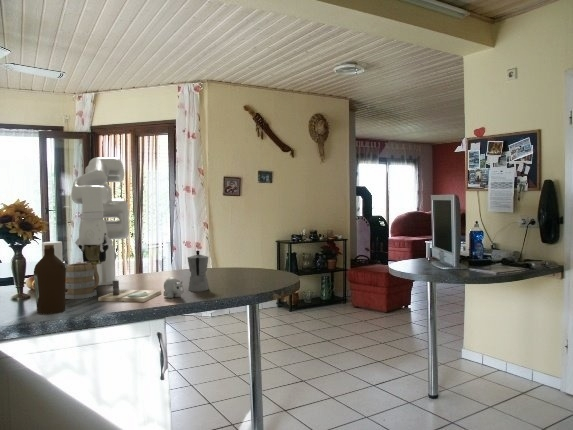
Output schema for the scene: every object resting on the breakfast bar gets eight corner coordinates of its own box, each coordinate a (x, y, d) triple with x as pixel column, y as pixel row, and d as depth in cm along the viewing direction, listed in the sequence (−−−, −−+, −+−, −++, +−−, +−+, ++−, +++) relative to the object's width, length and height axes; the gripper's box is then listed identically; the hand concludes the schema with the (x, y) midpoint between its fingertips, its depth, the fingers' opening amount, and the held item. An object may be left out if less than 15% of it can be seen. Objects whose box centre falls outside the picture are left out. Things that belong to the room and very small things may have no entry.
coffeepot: (188, 287, 209) (187, 249, 209) (209, 286, 211) (208, 248, 210) (187, 294, 194) (186, 253, 194) (209, 292, 196) (208, 252, 195)
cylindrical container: (48, 302, 182) (46, 241, 181) (66, 302, 183) (64, 241, 182) (40, 306, 175) (38, 243, 174) (59, 306, 176) (57, 242, 175)
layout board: (98, 301, 183) (97, 282, 183) (119, 293, 199) (118, 276, 199) (143, 301, 180) (143, 283, 180) (161, 293, 196) (160, 276, 196)
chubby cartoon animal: (173, 301, 179) (173, 280, 179) (161, 297, 189) (160, 277, 188) (189, 299, 184) (189, 278, 184) (176, 294, 193) (176, 275, 193)
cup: (108, 262, 181) (107, 243, 181) (98, 265, 174) (98, 245, 173) (90, 262, 182) (90, 243, 182) (80, 265, 174) (80, 245, 174)
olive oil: (67, 306, 174) (65, 243, 173) (66, 312, 164) (64, 245, 163) (36, 310, 169) (34, 244, 169) (33, 316, 160) (31, 247, 159)
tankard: (80, 300, 186) (79, 264, 185) (57, 298, 190) (56, 263, 190) (114, 290, 204) (113, 258, 204) (92, 289, 209) (91, 257, 208)
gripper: (67, 217, 175) (68, 262, 175) (107, 216, 172) (109, 263, 173) (79, 216, 182) (80, 260, 183) (118, 216, 179) (119, 260, 180)
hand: (94, 261), depth 178 cm, fingers closed on cup, 6 cm apart
